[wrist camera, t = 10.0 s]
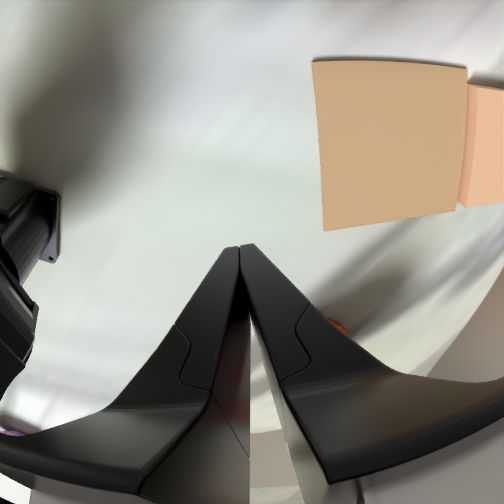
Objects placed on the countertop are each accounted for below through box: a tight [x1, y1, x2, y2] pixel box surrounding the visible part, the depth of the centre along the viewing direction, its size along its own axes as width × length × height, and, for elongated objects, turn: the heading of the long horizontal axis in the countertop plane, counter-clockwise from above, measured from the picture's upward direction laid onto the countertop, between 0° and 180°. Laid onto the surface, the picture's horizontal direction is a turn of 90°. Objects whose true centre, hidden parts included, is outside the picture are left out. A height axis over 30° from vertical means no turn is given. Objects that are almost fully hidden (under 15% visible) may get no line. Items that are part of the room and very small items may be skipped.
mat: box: [311, 61, 467, 231], centre depth 19 cm, size 12×12×1 cm
